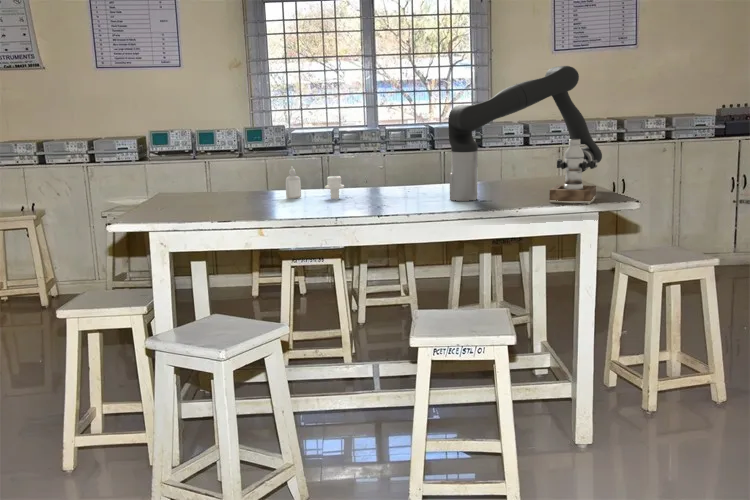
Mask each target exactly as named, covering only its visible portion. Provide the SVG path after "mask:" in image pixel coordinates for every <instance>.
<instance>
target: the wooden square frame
mask: <svg viewBox="0 0 750 500" xmlns="http://www.w3.org/2000/svg"><path fill="white" fill-rule="evenodd" d="M595 195H597V186H596V185H584V184H583V190H569V189H564V184H556V185H554V186H553V187H552V188H550V189H549V200H556V201H557V200H558V201H591V200H592V199H593V197H594V196H595Z"/></svg>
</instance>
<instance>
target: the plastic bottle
mask: <svg viewBox="0 0 750 500" xmlns="http://www.w3.org/2000/svg"><path fill="white" fill-rule="evenodd" d="M580 145H581V144H580V139H571V138H569V140H568V147H567V149H566V150H565V152H564V154H563V156H564V161H565V169H564V170H565V178H564V179H565V180H564V184H563V185H564V189H569V190H583V185H584V184H583V172H582V163H583V159H584V153H583V151H582V148H581V146H580Z"/></svg>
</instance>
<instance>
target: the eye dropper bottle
mask: <svg viewBox="0 0 750 500" xmlns="http://www.w3.org/2000/svg"><path fill="white" fill-rule="evenodd" d="M288 173H289V176H287V177H286V178H285V196H286V199H289V200H291V199H292V200H293V199H294V200H295V199H299V198H301V197H302V186H301V178H300V177H299V176H297V174H296V173H297V172H296V169H294V165H293V166H292V165H291V167H290V169H289V171H288Z"/></svg>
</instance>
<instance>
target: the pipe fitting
mask: <svg viewBox="0 0 750 500" xmlns="http://www.w3.org/2000/svg"><path fill="white" fill-rule="evenodd" d="M326 179H327V181H326V182H327V185H325V186H324V189H327V190H330V191H329V192H330V193H329V194H330V199H332V200H338V199H340V190H341V189H344V188H345V185H344V184H342V177H341V176H340V175H336V176H335V175H334V176H333V175H332V176H327V178H326Z"/></svg>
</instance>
